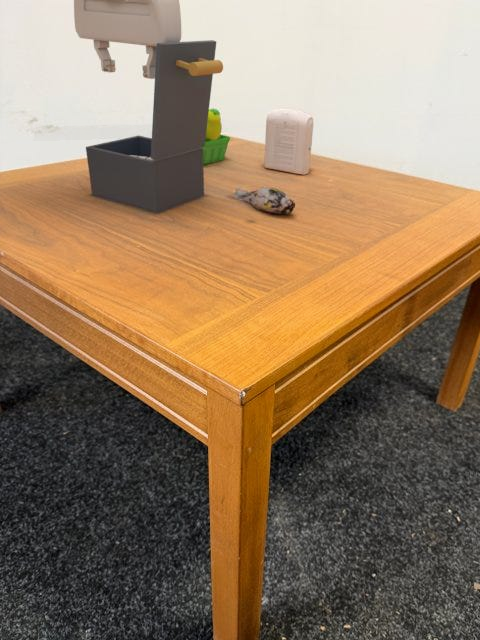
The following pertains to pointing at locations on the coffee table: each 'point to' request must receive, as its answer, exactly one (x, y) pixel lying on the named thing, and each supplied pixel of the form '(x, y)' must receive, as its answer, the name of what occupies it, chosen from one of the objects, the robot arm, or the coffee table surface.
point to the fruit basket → (214, 139)
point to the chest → (144, 175)
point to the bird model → (267, 200)
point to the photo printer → (288, 140)
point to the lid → (182, 96)
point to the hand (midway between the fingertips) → (129, 75)
